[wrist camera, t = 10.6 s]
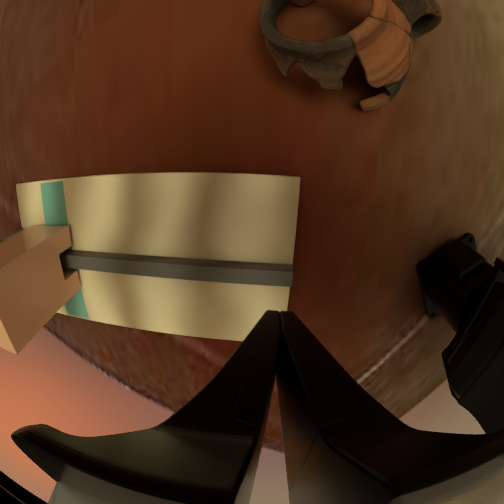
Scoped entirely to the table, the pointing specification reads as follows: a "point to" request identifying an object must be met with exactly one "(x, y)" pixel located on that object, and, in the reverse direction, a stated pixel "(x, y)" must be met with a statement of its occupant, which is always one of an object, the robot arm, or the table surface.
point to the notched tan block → (33, 282)
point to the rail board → (173, 247)
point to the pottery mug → (356, 45)
